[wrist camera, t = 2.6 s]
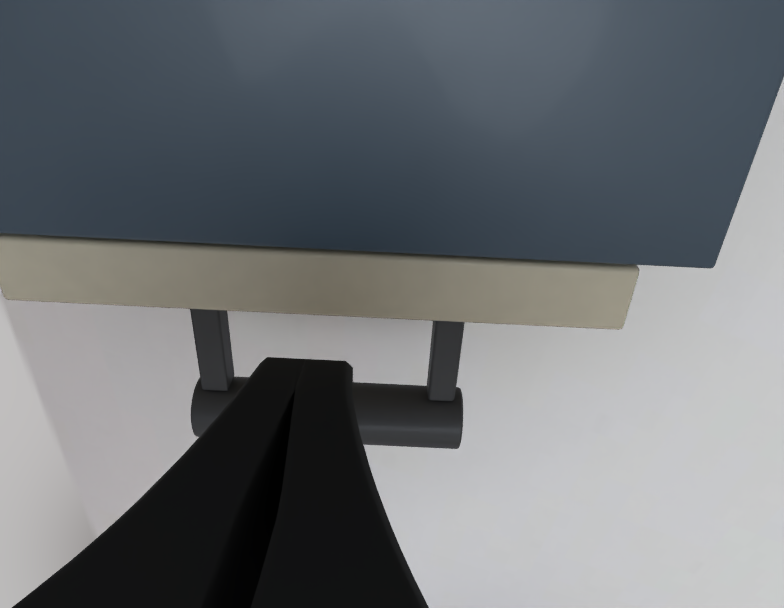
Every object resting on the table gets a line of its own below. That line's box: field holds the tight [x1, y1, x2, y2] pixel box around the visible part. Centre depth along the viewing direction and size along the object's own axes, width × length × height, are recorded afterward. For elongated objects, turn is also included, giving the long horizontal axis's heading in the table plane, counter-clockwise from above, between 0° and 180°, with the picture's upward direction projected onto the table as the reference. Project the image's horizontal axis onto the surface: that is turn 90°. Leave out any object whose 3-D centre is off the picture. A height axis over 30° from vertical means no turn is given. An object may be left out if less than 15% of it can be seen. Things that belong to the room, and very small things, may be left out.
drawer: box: [0, 233, 639, 449], centre depth 11 cm, size 17×10×6 cm, turn 177°
